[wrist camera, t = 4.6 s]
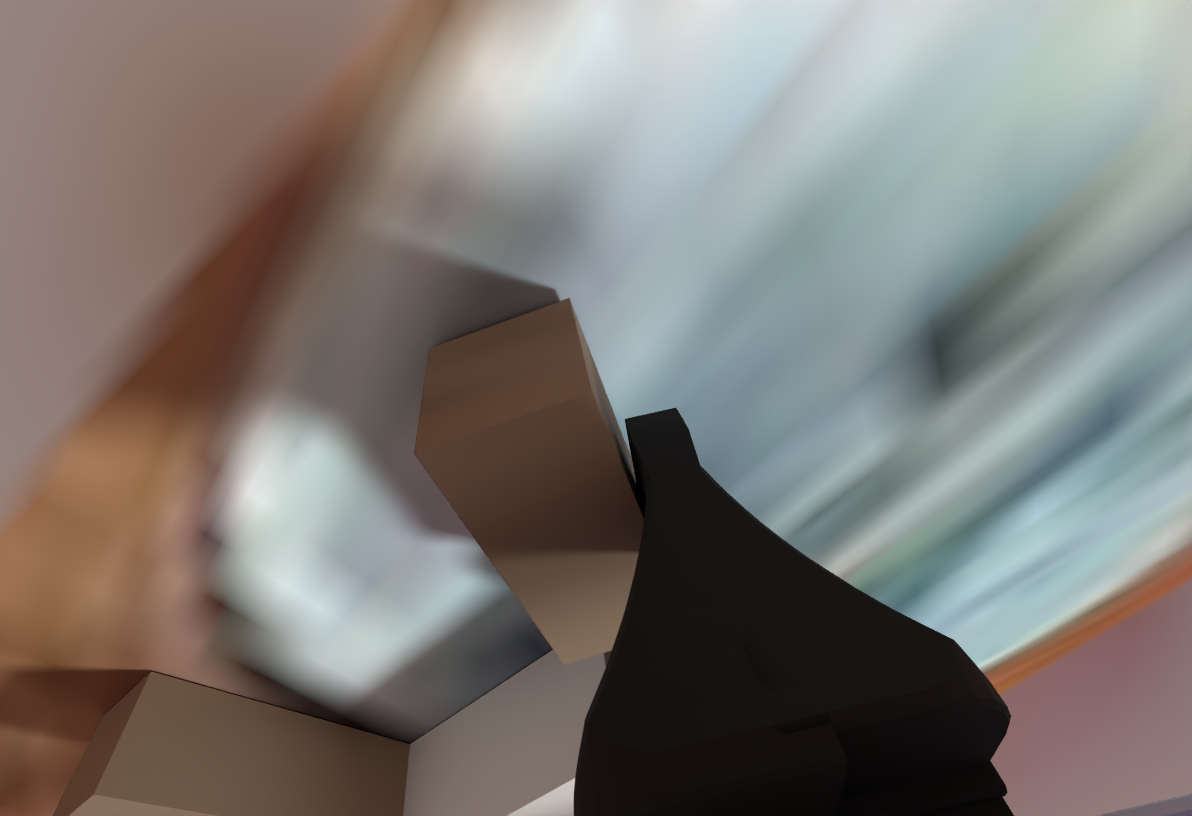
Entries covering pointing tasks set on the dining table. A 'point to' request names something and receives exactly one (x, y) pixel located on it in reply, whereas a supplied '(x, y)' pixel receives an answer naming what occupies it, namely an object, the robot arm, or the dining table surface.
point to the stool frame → (336, 755)
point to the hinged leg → (537, 471)
